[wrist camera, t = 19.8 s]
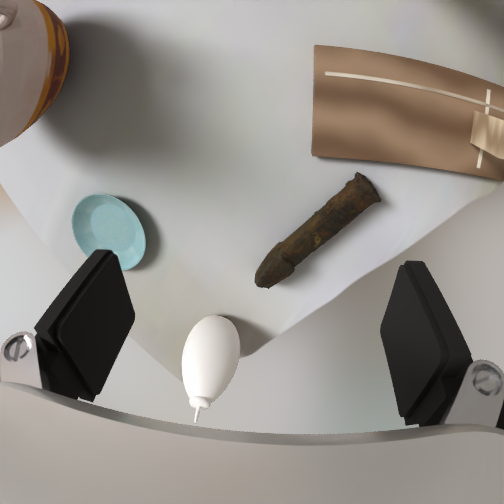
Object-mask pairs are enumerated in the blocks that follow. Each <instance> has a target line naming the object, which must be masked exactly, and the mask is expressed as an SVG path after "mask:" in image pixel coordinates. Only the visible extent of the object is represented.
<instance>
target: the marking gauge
mask: <svg viewBox="0 0 504 504" xmlns="http://www.w3.org/2000/svg"><path fill="white" fill-rule="evenodd" d="M470 143H472V144H474V145H476V146H477V147H479V148H481V149H483V150H485V151H487V152H489V153H490V154H492V155H494V156H496V157H497V158H500V159H504V120H502V119H500V118H497V117H494V116H491V115H488V114H485V113H481V112H478V111H475V110H474V118H473V126H472V133H471V140H470Z"/></svg>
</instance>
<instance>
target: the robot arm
mask: <svg viewBox="0 0 504 504" xmlns="http://www.w3.org/2000/svg"><path fill="white" fill-rule="evenodd" d="M134 320H135V312H134V309H133V306H132V302H131V299H130V296H129V293H128V290H127V286H126V283H125V280H124V276H123V273H122V269H121V266H120V262H119V259H118V256H117V255H116V254H114V252H113V251H112V250H108V249H96V250H95V251H94V252H93V253H92V254H91V255H90V256H89V258H88V259H87V260H86V261H85V262H84V263H83V265H82V266H81V267H80V268H79V269H78V271H77V272H76V273H75V274H74V276H73V277H72V278H71V279H70V281H69V282H68V283H67V284H66V286H65V287H64V288H63V289H62V291H61V292H60V293H59V295H58V296H57V297H56V299H55V300H54V301H53V302H52V304H51V305H50V306H49V308H48V309H47V310H46V312H45V313H44V314H43V316H42V317H41V319H40V320H39V322H38V323H37V324H36V326H35V327H34V329H35V330H36V332H37V334H36V336H35V337H34V336H33V335H32V334H31V333H29V332H19V333H16V334H14V335H12V336H11V337H9V338H8V339H7V340H6V341H5V343H4V344H3V346H2V348H1V352H0V504H504V373H503V371H502V370H501V369H500V368H499V367H498V366H497V365H495V364H494V363H493V362H490V361H487V360H477V361H474V362H473V360H472V357H471V353H470V350H469V348H468V346H467V344H466V341H465V340H464V337H463V335H462V333H461V331H460V329H459V327H458V325H457V323H456V321H455V319H454V317H453V315H452V313H451V311H450V309H449V307H448V305H447V303H446V301H445V299H444V297H443V295H442V293H441V292H440V290H439V288H438V286H437V284H436V283H435V281H434V279H433V277H432V276H431V274H430V272H429V270H428V268H427V267H426V265H425V263H424V262H423V261H406V262H405V264H404V265H401V266H400V267H399V270H398V273H397V277H396V280H395V283H394V287H393V290H392V294H391V297H390V300H389V303H388V306H387V309H386V312H385V315H384V318H383V321H382V324H381V328H380V333H381V338H382V342H383V345H384V349H385V353H386V357H387V361H388V366H389V370H390V374H391V378H392V383H393V387H394V392H395V396H396V401H397V405H398V411H399V415H400V416H401V417H404V419H405V425H406V426H407V425H413V424H419V427H416V428H409V429H400V430H390V431H378V432H364V433H348V434H317V435H316V434H312V435H311V434H272V433H271V434H270V433H255V432H240V431H230V430H221V429H212V428H205V427H197V426H190V425H183V424H178V423H171V422H166V421H160V420H155V419H151V418H146V417H141V416H136V415H132V414H128V413H123V412H119V411H115V410H111V409H107V408H103V407H100V406H96V405H93V404H89V403H86V402H82V401H79V400H77V399H78V397H80V398H81V399H84V400H87V401H90V402H93V401H94V399H95V396H96V395H98V394H100V392H101V391H102V388H103V386H104V384H105V382H106V380H107V377H108V375H109V373H110V371H111V369H112V366H113V364H114V362H115V360H116V358H117V356H118V354H119V352H120V350H121V347H122V345H123V343H124V341H125V339H126V337H127V335H128V333H129V331H130V329H131V327H132V325H133V323H134Z"/></svg>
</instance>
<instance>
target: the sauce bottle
mask: <svg viewBox="0 0 504 504" xmlns="http://www.w3.org/2000/svg"><path fill="white" fill-rule="evenodd" d="M239 356H240V339H239V335H238V332H237V330H236V328H235V326H234V324H233V323H232V322H231V321H230V320H228V319H226V318H224V317H222V316H217V315H211V316H207V317H205V318H203V319H202V320H200V321H199V322H198V323H197V324H196V325H195V326H194V327H193V329H192V330H191V332H190V334H189V335H188V338H187V340H186V343H185V346H184V350H183V355H182V376H183V382H184V386H185V389H186V392H187V394H188V396H189V397H190V401H189V403H190V405H191V406H192V407H194V408H196V414H195V424H196V422H197V420H198V416H199V413H200V410H206V409H208V408H209V407H210V404H211V403H212V402H213V401H215V400H216V399H217V398H218V397H219V396H220V395H221V394H222V393H223V391H224V390H225V389H226V387H227V386H228V384H229V383H230V381H231V379H232V377H233V375H234V373H235V371H236V368H237V365H238V360H239Z"/></svg>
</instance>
